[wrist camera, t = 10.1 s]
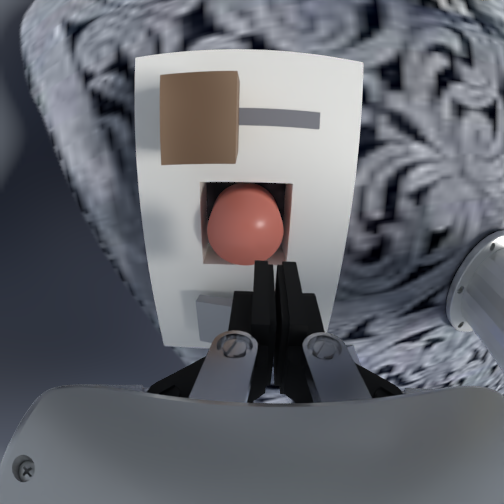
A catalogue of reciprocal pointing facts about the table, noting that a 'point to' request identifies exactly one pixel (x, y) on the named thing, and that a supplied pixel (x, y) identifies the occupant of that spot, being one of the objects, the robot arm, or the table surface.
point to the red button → (245, 224)
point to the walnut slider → (199, 117)
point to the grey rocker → (212, 316)
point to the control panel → (251, 177)
